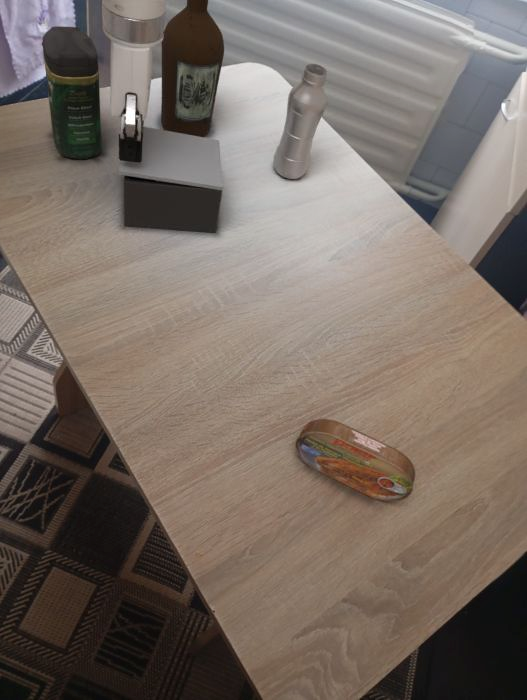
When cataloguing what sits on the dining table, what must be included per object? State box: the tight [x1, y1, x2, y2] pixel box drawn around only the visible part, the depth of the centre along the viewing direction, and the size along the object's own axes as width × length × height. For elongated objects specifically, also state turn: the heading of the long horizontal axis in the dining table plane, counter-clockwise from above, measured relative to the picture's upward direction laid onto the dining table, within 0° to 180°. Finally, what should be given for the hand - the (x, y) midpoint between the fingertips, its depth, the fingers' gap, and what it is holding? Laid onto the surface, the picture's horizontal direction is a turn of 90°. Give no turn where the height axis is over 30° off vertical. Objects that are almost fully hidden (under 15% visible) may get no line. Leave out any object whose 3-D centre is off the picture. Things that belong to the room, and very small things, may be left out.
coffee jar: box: [41, 25, 102, 160], centre depth 92 cm, size 10×8×19 cm
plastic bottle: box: [273, 63, 328, 180], centre depth 98 cm, size 6×7×20 cm
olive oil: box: [160, 0, 225, 138], centre depth 99 cm, size 11×11×25 cm
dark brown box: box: [123, 175, 223, 234], centre depth 91 cm, size 15×12×9 cm
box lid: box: [118, 111, 224, 191], centre depth 85 cm, size 15×12×6 cm
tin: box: [295, 418, 416, 502], centre depth 69 cm, size 15×3×8 cm, turn 66°
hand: (131, 139), depth 84 cm, fingers open, 9 cm apart
